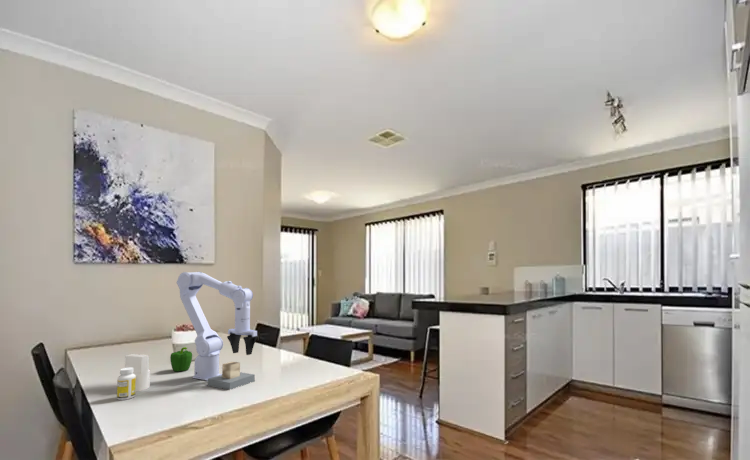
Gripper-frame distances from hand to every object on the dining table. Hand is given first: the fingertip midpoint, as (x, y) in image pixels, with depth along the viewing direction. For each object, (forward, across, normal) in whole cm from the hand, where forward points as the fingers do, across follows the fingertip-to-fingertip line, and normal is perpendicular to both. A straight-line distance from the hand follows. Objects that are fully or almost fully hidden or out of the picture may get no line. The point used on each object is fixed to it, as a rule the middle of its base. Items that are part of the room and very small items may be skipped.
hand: (242, 353), depth 159 cm
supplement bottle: (+10, -19, -34) cm, 40 cm away
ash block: (+7, +1, -6) cm, 9 cm away
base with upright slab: (+10, -27, -26) cm, 39 cm away
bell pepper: (+10, -36, -2) cm, 37 cm away
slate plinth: (+10, +1, -6) cm, 11 cm away
